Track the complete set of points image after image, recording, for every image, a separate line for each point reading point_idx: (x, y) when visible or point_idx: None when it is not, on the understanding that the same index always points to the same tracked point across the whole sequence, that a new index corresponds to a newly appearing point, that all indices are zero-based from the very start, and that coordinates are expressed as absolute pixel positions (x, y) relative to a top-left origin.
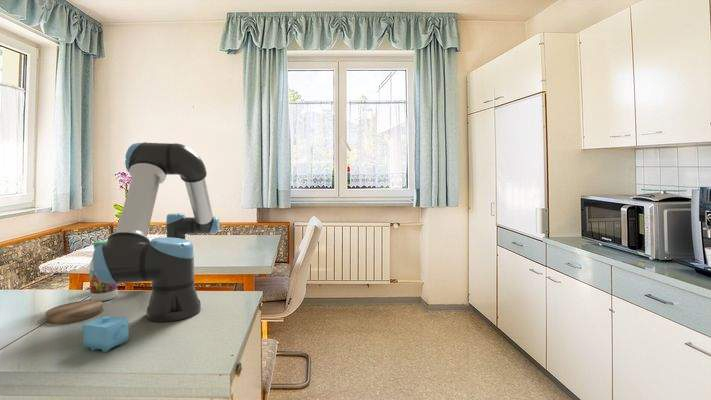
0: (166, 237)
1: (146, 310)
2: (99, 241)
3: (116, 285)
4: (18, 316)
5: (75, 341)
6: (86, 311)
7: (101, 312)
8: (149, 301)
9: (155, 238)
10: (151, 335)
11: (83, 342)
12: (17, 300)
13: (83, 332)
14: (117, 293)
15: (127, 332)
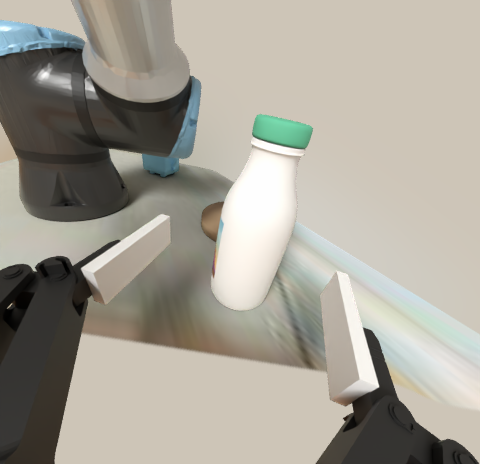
0: (31, 24)
1: (126, 188)
2: (302, 123)
3: (213, 264)
4: (310, 236)
5: (192, 182)
6: (213, 206)
7: (201, 223)
8: (119, 183)
9: (72, 35)
10: (123, 174)
11: (178, 167)
12: (420, 307)
13: (178, 158)
14: (212, 289)
15: (143, 161)
